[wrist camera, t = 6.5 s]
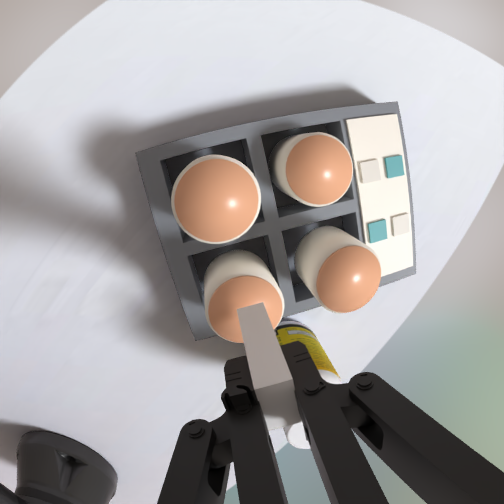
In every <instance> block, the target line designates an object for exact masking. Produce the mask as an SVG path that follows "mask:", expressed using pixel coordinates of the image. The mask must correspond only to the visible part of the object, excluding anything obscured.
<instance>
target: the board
mask: <svg viewBox="0 0 504 504" xmlns="http://www.w3.org/2000/svg"><path fill="white" fill-rule="evenodd" d="M324 123H325V125H326V129H327V134H330V135H332V136H334V137H336V138H337V139H339V140H340V141H341V142H342V143H343V144H344V145H345V147H346V148H347V149H348V151H349V153H350V156H351V158H352V163H353V176H352V181H351V183H350V186H349V188H348V190H347V191H346V193H345V194H344V195H343V196H342V197H341V198H340V199H339V200H337V201H336V202H334V203H332V204H330V205H327V206H322V207H314V206H309V205H306V204H303V203H297V204H293V205H289V206H285V207H281V208H277V207H276V202H275V197H274V193H273V188H272V184H271V179H270V175H269V170H268V166H267V161H266V157H265V152H264V148H263V143H262V139H261V135H264V134H269V133H274V132H279V131H284V130H289V129H295V128H300V127H306V126H312V125H318V124H324ZM237 140H241V142H242V146H243V150H244V154H245V159H246V163H247V167H248V168H249V169H250V171H251V172H252V173H253V174H254V176H255V178H256V180H257V182H258V184H259V187H260V192H261V206H260V210H259V214H258V216H257V218H256V220H255V222H254V224H253V225H252V226H251V228H250V229H249V230H248V231H247V232H246V233H244V234H243V235H242V236H240V237H239V238H237V239H235V240H233V241H230V242H227V243H222V244H209V243H204V242H201V241H198V240H196V239H194V238H192V237H191V236H189V235H188V234H187V233H186V232H184V231H183V229H182V228H181V227H180V226H179V224H178V223H177V221H176V219H175V217H174V214H173V211H172V205H171V195H172V190H173V188H172V185H171V181H170V177H169V174H168V170H167V166H166V162H165V159H168V158H171V157H175V156H178V155H182V154H185V153H189V152H193V151H197V150H200V149H204V148H208V147H212V146H216V145H220V144H224V143H228V142H233V141H237ZM136 157H137V161H138V165H139V169H140V172H141V176H142V180H143V183H144V187H145V191H146V194H147V198H148V201H149V205H150V208H151V211H152V215H153V218H154V221H155V225H156V228H157V231H158V234H159V238H160V241H161V244H162V247H163V250H164V253H165V256H166V260H167V263H168V266H169V269H170V272H171V275H172V278H173V280H174V283H175V286H176V289H177V292H178V295H179V298H180V301H181V303H182V306H183V309H184V312H185V314H186V317H187V320H188V323H189V325H190V328H191V331H192V333H193V336H194V339H195V341H197V340H201V339H206V338H210V337H214V336H217V334H216V333H215V332H214V331H213V330H212V329H211V328H210V326H209V324H208V322H207V320H206V316H205V301H204V293H203V290H202V287H201V284H200V281H199V277H198V274H197V271H196V268H195V265H194V261H193V258H192V255H193V254H197V253H201V252H204V251H208V250H212V249H216V248H219V247H223V246H227V245H231V244H234V243H238V242H242V241H246V240H249V239H253V238H257V237H261V236H263V237H264V241H265V246H266V250H267V255H268V259H269V264H270V268H271V273H272V276H273V278H274V279H275V281H276V283H277V285H278V287H279V288H280V290H281V292H282V294H283V298H284V313H283V316H282V318H283V317H287V316H290V315H294V314H297V313H300V312H304V311H307V310H310V309H313V308H317V307H320V306H321V305H320V303H319V302H318V301H317V299H316V298H315V297H314V295H313V294H312V293H311V291H310V290H309V289H308V287H307V286H306V285H305V284H304V283H300V284H297V285H294V286H292V280H291V275H290V270H289V265H288V260H287V255H286V250H285V245H284V240H283V236H282V231H284V230H288V229H291V228H295V227H299V226H303V225H307V224H311V223H315V222H318V221H322V220H326V219H330V218H334V217H338V216H342V220H343V227H344V231H345V232H346V233H348V234H350V235H351V236H353V237H354V238H356V239H358V240H359V241H361V242H362V243H364V244H366V245H367V246H369V247H370V248H372V249H373V250H374V251H375V253H376V254H377V256H378V257H379V260H380V263H381V280H380V284H379V287H380V286H383V285H386V284H389V283H392V282H395V281H397V280H400V279H403V278H406V277H408V276H411V275H414V274H416V253H415V230H414V215H413V203H412V192H411V183H410V174H409V166H408V159H407V152H406V145H405V139H404V133H403V127H402V121H401V116H400V111H399V106H398V102H386V103H375V104H365V105H356V106H347V107H339V108H331V109H324V110H317V111H311V112H304V113H298V114H292V115H287V116H281V117H276V118H270V119H265V120H260V121H255V122H250V123H246V124H241V125H237V126H232V127H228V128H224V129H219V130H215V131H211V132H207V133H203V134H199V135H195V136H192V137H188V138H184V139H181V140H177V141H173V142H170V143H166V144H163V145H160V146H156V147H153V148H150V149H146V150H143V151H140V152H137V153H136Z"/></svg>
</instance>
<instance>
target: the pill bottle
mask: <svg viewBox="0 0 504 504" xmlns="http://www.w3.org/2000/svg"><path fill="white" fill-rule="evenodd" d="M274 332H275V334H276V337H277V340H278V342H279V345H284V344H287V343H291V342H294V341H300V342H302V343H303V344H305V345H306V347H307V349H308V351H309V353H310V355H311V358H312V359H313V361H314V363H315V365H316V367H317V369H318V371H319V373H320V375H321V377H322V378H323V379H324V380H325V381H326V382H329V383H332V384H343V383H342V381H341V379H340V377H339V375H338V374H337V372H336V370H335V369H334V367H333V365H332V363H331V362H330V360H329V358H328V357H327V355H326V353H325V351H324V350H323V348H322V346H321V345H320V343H319V341H318V339H317V338H316V336H315V335H314V333H313V331H312V330H311V329H310V328H309V327H307V326H306V325H304V324H302V323H299V322H295V321H283V322H280V323H279V324H278V326H277V327H276V328H275V329H274ZM283 429H284V432H285V435H286V438H287V440H288V442H289V443H290V444H291V445H293V446H294V447H297V448H302V449H311V448H310V445H309V442H308V440H307V441H306V436H305V431H304V427H303V423H302V422H300V423H296V424H293V425H289V426H286V427H283Z"/></svg>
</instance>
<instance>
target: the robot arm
mask: <svg viewBox="0 0 504 504" xmlns="http://www.w3.org/2000/svg"><path fill="white" fill-rule="evenodd" d="M237 314H238V318H239V323H240V328H241V332H242V337H243V342H244V346H245V351H246V356H242V357H239V358H235V359H231V360H227V362H226V364H225V367H224V373H225V381H226V389H225V390H224V391H223V393H222V395H221V400H222V402H223V404H224V407H225V409H226V412H225V413H224V414H223V415H222V416H221V417H219V418H217V419H216V420H213V421H211V422H208V421H206V420H202V419H196V420H192V421H190V422H188V423H186V424H185V425H184V426H183V427H182V429H181V431H180V434H179V437H178V440H177V443H176V446H175V449H174V452H173V456H172V459H171V462H170V465H169V468H168V471H167V474H166V477H165V481H164V484H163V487H162V490H161V493H160V496H159V499H158V503H157V504H224V499H225V493H226V487H227V482H228V476H229V470H230V463H231V462H234V469H235V476H236V482H237V488H238V495H239V501H240V504H288V501H287V497H286V494H285V490H284V486H283V483H282V479H281V475H280V472H279V468H278V464H277V460H276V457H275V453H274V449H273V445H272V441H271V438H270V435H269V432H268V431H271V430H275V429H278V428H282V427H286V426H289V425H293V424H296V423H300V422H302V423H303V427H304V431H305V436H306V441H307V440H308V442H309V445H310V448H311V451H312V453H313V456H314V459H315V462H316V464H317V467H318V469H319V473H320V475H321V478H322V481H323V483H324V486H325V489H326V491H327V494H328V497H329V500H330V502H331V504H389V503H388V501H387V499H386V497H385V495H384V493H383V491H382V489H381V487H380V485H379V483H378V481H377V479H376V477H375V475H374V473H373V471H372V469H371V467H370V465H369V463H368V461H367V459H366V457H365V455H364V453H363V451H362V449H361V447H360V445H359V443H358V442H357V439H356V437H355V435H354V433H353V431H354V432H355V433H356V434H357V435H358V436H359V437H360V438H361V439H362V440H363V441H364V442H365V443H366V444H367V445H368V446H369V447H370V448H371V449H372V450H373V451H374V452H375V453H376V454H377V455H378V456H379V457H380V458H381V459H382V460H383V461H384V462H385V463H386V464H387V465H388V466H389V467H390V468H391V469H392V470H393V471H394V472H395V473H396V474H397V475H398V476H399V477H400V478H401V479H402V480H403V481H404V482H405V483H406V484H407V485H408V486H409V487H410V488H411V489H412V490H413V491H414V492H415V493H416V494H418V496H420V497H421V498H422V499H423V500H424V501H425V502H426V503H427V504H504V473H503V472H502V471H501V470H500V469H498V468H497V467H496V466H494V465H493V464H492V463H490V462H489V461H487V460H486V459H485V458H484V457H482V456H481V455H480V454H478V453H477V452H476V451H474V450H473V449H472V448H470V447H469V446H468V445H467V444H465V443H464V442H463V441H461V440H460V439H459V438H457V437H456V436H455V435H453V434H452V433H451V432H450V431H448V430H447V429H446V428H444V427H443V426H442V425H440V424H439V423H438V422H437V421H435V420H434V419H433V418H431V417H430V416H429V415H428V414H426V413H425V412H423V411H422V410H421V409H420V408H418V407H417V406H416V405H415V404H413V403H412V402H411V401H409V400H408V399H407V398H406V397H404V396H403V395H402V394H400V393H399V392H398V391H397V390H395V389H394V388H393V387H392V386H390V385H389V384H388V383H387V382H385V381H384V380H383V379H382V378H380V377H379V376H378V375H376V374H374V373H370V372H363V373H359V374H357V375H355V376H353V377H352V378H351V379H350V381H349V383H345V384H332V383H329V382H326V381H325V380H324V379H323V378H322V377H321V375H320V373H319V371H318V369H317V367H316V365H315V363H314V361H313V359H312V358H311V355H310V353H309V351H308V349H307V347H306V345H305V344H303V343H302V342H300V341H294V342H291V343H287V344H284V345H279V342H278V340H277V337H276V334H275V332H274V329H273V327H272V324H271V321H270V319H269V316H268V314H267V311H266V308H265V306H264V303H263V302H262V303H258V304H254V305H251V306H247V307H243V308H239V309H237ZM351 428H352V429H353V431H352V429H351ZM17 460H18V464H17V487H16V490H15V493H13V492H12V491H11V490H9V489H8V488H7V487H5V486H4V485H3V484H1V483H0V504H109V502H110V500H111V499H112V497H113V496H114V495H115V492H116V487H117V480H118V478H117V474H116V472H115V470H114V468H113V467H112V466H111V465H110V464H109V463H108V462H107V461H106V460H105V459H104V458H103V457H102V456H100V455H99V454H98V453H96V452H95V451H93V450H91V449H90V448H88V447H86V446H84V445H83V444H81V443H79V442H76V441H74V440H72V439H69V438H67V437H64V436H61V435H58V434H54V433H50V432H44V431H33V432H29V433H26V434H25V435H24V436H23V437H22V438H21V441H20V443H19V445H18V448H17Z"/></svg>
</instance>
